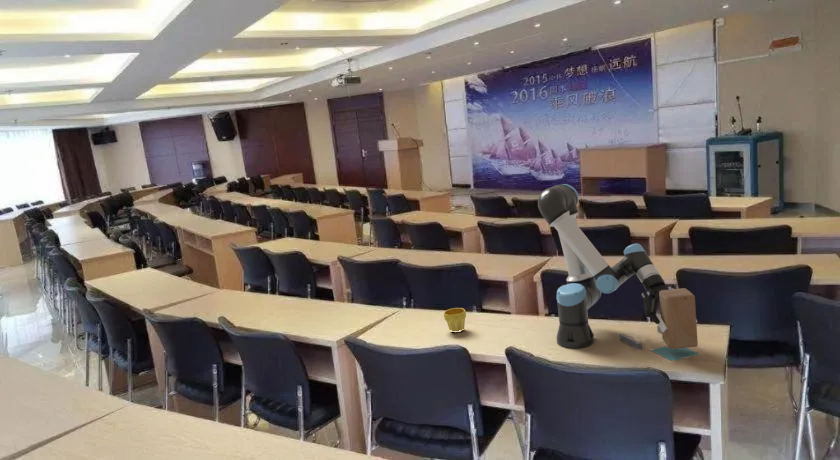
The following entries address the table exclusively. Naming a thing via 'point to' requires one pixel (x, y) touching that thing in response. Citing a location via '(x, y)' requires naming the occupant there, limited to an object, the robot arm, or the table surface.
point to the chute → (634, 342)
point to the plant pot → (455, 318)
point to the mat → (674, 353)
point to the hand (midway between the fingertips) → (680, 327)
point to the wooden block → (678, 318)
